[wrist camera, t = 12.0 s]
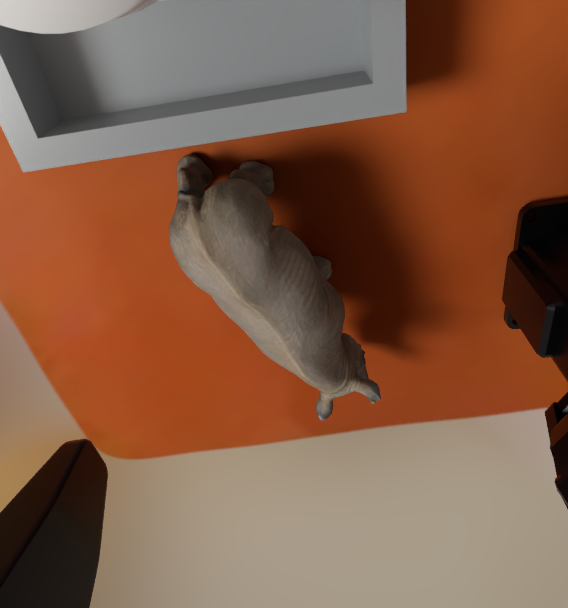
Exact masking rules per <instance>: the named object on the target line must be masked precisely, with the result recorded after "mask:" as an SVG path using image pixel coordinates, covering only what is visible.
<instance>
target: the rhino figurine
mask: <svg viewBox="0 0 568 608" xmlns="http://www.w3.org/2000/svg"><path fill="white" fill-rule="evenodd" d="M212 179H213V176H212V172H211V170H210V169H209V168H208V167H207V166H206V165H205V164H204V163H203V162H202V160H201V159H200V158H198V157H197V156H194V155H185V156H184V157H183V158H182V159H181V160H180V161H179V163H178V168H177V180H178V198H179V199H178V201H177V205H176V209H175V212H174V215H173V217H172V220H171V222H170V226H169V240H170V245H171V249H172V251H173V254H174V256H175V258H176V260H177V262H178V264H179V266H180V267H181V269H182V270H183V271H184V273H185V274H186V275H187V276H188V277H189V278H190V279H191V280H192V282H193V283H194V284H195V285H197V286H198V287H199V288H200V289H202V290H203V291H205V292H207V293H208V294H210V295H211V296H212V298H213V299H214V301H215V302H216V303H217V304H218V306H219V307H220V308H221V309H222V310H223V311H224V312H225V313H226V314H227V315H228V316H229V317H230V318H231V319H232V320H233V321H234V322H235V323H236V324H237V325H238V326H240V327H241V328H242V329H243V330H244V331H245V333H246V334H247V335H248V336H249V337H250V338H251V339H252V340H253V341H254V343H255V344H256V345H257V346H258V347H259V349H260V350H261V351H262V352H263V353H264V354H265V355H267V356H268V357H269V358H270V359H271V360H273V361H274V362H276V363H278V364H279V365H281V366H283V367H284V368H286V369H287V370H289V371H291V372H292V373H294V374H296V375H297V376H298V377H299V378H301V379H302V380H304V381H305V382H306V383H308V384H309V385H310V386H312V387H315V388H317V389H319V390H320V397H319V399H318V401H317V404H316V411H317V415H318V417H319V418H320V419H321V420H325V419H327V418H328V417H329V416H330V415H331V413H332V410H333V398H336V397H340V396H343V395H346V394H348V393H350V392H353V391H357V392H359V393H362V394H364V395H365V396H367V398H368V399H369V401H370V402H371V403H372V404H374V403H375V400H380V399H381V396H380V393H379V391H380V390H379V387H378V385H377V384H376V383H375V382H374V381H372V380H370V379H369V378H368V374H367V371H366V366H365V364H366V363H365V358H364V354H365V352H364V351H363V350H362V349H361V345H360V344H358V343H356V341H355V340H354V339H353V338H352V337H351V336H350V335H348V334H346V333H342V330H343V323H344V318H345V309H344V303H343V300H342V298H341V296H340V294H339V293H338V292H337V291H336V290H335V288H334V287H333V286H332V285H331V284H330V283H329V282H328V281H326V280H327V279H329V278H330V276H331V274H332V268H331V262H330V261H329V260H328V259H325V258H322V257H320V256H312V255H311V253H310V251H309V250H308V248H307V247H306V246H305V245H304V243H303V242H302V241H301V240H300V239H299V238H298V237H297V236H296V235H294V234H293V233H291V232H290V231H289V230H287V229H286V228H285V227H284V226H282V225H281V226H273V225H272V222H273V217H274V216H273V212H272V210H271V209H270V207H269V204H268V202H267V199H266V196H268V195H270V194H271V193H272V192H273V191H274V188H275V184H274V180H273V171H272V169H271V168H270V167H269V166H267V165H264V164H261V163H258V162H255V161H248V162H244V163H242V164H241V165H240V167H239V170H233V171H232V172H231V174H230V176H229V180H226V181H222V182H219V183H216V184H214V185H213V186H211V187H210V188H209V189H208V190H207V191H206V192H204V189H205V187H206V186H207V185H208V184H210V183H211V182H212Z"/></svg>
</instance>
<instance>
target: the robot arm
mask: <svg viewBox="0 0 568 608" xmlns="http://www.w3.org/2000/svg"><path fill="white" fill-rule="evenodd" d="M534 212H537V213H536V215H535V216H534V217H533V218H531V219H528V217H529V215H530V214H531V213H534ZM502 300H503V302H504V304H505V305H506V306H505V313H504V320H505V322H506V324H507V325H508V327H509V328H512V329H521V330H522V332H523V333H524V335H525V336H526V338H527V339H528V341H529V343H530V344H531V346H532V347H533V349H534V350H535V352H536V353H537V354H538V355H539V356H541V357H542V358H546V357H551V358H552V359H553V361H554V362H555V364H556V365H557V367H558V368H559V370H560V371H561V373H562V374H563V376H564V377H565V379H566V380H567V381H568V198H562V199H555V200H548V201H540V202H533V203H529V204H527V205H525V206H524V207H522V209H521V210H520V211H519V214H518V220H517V227H516V234H515V241H514V249H513V251H512V252H511V253H510V254H509V256H508V258H507V266H506V273H505V281H504V288H503V296H502ZM513 319H515V320H513ZM545 416H546V421H547V427H548V432H549V437H550V443H551V444H550V449H551V452H552V455H553V458H554V463H555V469H556V474H557V478H556V479H555V484H556V488H557V491H558V492H559V494H560V495H561V497H562V499H563V501H564V503H565V505H566V506H567V509H568V392H567V393H566V394H565V395H564V396H563V397H562V398H561V399H560V400H559V402H558V403H557V402H554V403H553V404H552V405H551V406H550V407H549V408H548V409H547V410H546V411H545ZM107 479H108V471H107V467H106V464H105V463H104V461H103V459H102V458H101V456H100V455H99V453H98V451H97V450H96V448H95V447H94V445H93V444H92V442H91V441H89V440H88V439H80V440H73V441H69V442H66V443H64V444H63V445H62V446H61V447H60V448H59V449H58V450H57V451H56V452H55V453H54V454H53V455H52V456H51V458H50V459H49V460H48V461H47V462H46V463H45V464H44V465H43V467H42V468H41V469H40V470H39V471H38V472H37V473H36V474H35V475H34V476H33V477H32V479H31V480H30V481H29V482H28V483H27V484H26V485H25V486H24V487H23V488H22V489H21V490H20V492H19V493H18V494H17V495H16V496H15V497H14V498H13V499H12V500H11V501H10V503H9V504H8V505H7V506H6V507H5V508H4V509H3V510H2V511H1V512H0V608H89V606H90V602H91V597H92V592H93V588H94V583H95V578H96V573H97V567H98V561H99V556H100V547H101V539H102V529H103V519H104V509H105V498H106V489H107Z"/></svg>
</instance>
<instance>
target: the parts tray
mask: <svg viewBox="0 0 568 608" xmlns="http://www.w3.org/2000/svg"><path fill="white" fill-rule="evenodd" d="M403 112H406V0H158V1H157V2H156V3H154V4H152V5H150V6H148V7H146V8H144V9H143V10H141V11H138V12H135V13H132V14H129V15H126V16H123V17H120V18H117V19H114V20H111V21H108V22H105V23H103V24H100V25H97V26H94V27H91V28H88V29H85V30H81V31H75V32H69V33H63V34H40V33H33V32H25V31H19V30H16V29H12V28H8V27H5V26H1V25H0V125H1V127H2V129H3V131H4V133H5V135H6V138H7V140H8V142H9V144H10V146H11V148H12V150H13V152H14V154H15V156H16V158H17V160H18V162H19V165H20V167H21V169H22V171H23V172H28V171H35V170H41V169H47V168H54V167H60V166H66V165H73V164H79V163H86V162H92V161H98V160H105V159H111V158H117V157H124V156H130V155H136V154H143V153H149V152H155V151H162V150H168V149H174V148H181V147H187V146H194V145H200V144H206V143H213V142H219V141H225V140H232V139H238V138H244V137H251V136H257V135H263V134H270V133H276V132H282V131H289V130H295V129H302V128H308V127H314V126H321V125H327V124H333V123H340V122H346V121H352V120H359V119H365V118H371V117H378V116H384V115H390V114H397V113H403Z"/></svg>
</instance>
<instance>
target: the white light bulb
mask: <svg viewBox="0 0 568 608" xmlns="http://www.w3.org/2000/svg"><path fill="white" fill-rule="evenodd" d="M157 1H158V0H0V25H1V26H5V27H8V28H12V29H16V30H19V31H25V32H33V33H40V34H63V33H69V32H75V31H81V30H85V29H88V28H91V27H94V26H97V25H100V24H103V23H105V22H108V21H111V20H114V19H117V18H120V17H123V16H126V15H129V14H132V13H135V12H138V11H141V10H143V9H144V8H146V7H148V6H150V5H152V4H154V3H156V2H157Z"/></svg>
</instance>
